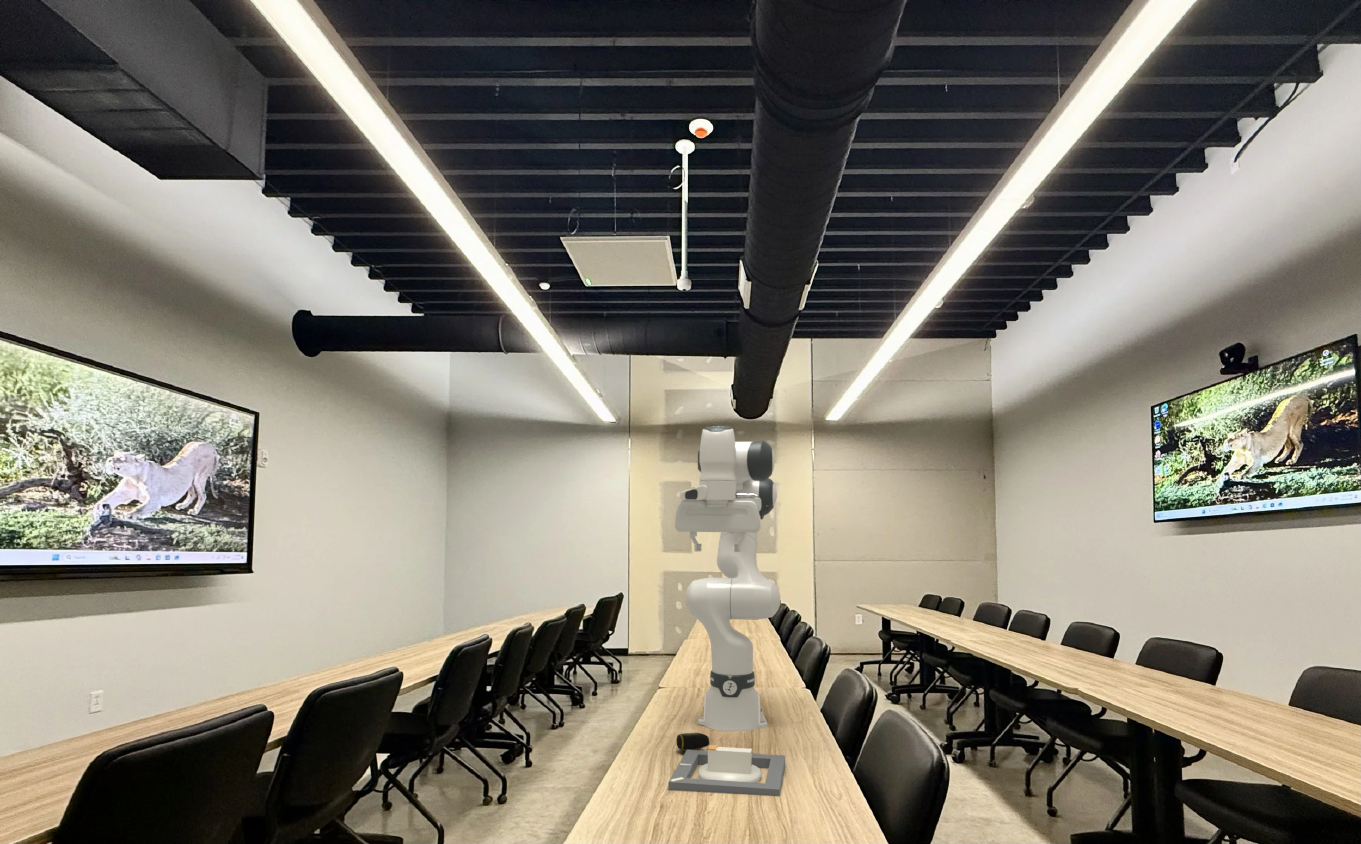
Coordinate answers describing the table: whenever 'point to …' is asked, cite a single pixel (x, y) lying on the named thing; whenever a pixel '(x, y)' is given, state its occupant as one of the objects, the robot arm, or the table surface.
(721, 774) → the dial knob
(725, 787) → the grey square frame
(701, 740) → the tape measure
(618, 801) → the table surface
